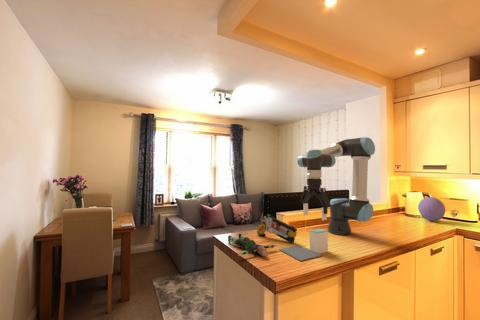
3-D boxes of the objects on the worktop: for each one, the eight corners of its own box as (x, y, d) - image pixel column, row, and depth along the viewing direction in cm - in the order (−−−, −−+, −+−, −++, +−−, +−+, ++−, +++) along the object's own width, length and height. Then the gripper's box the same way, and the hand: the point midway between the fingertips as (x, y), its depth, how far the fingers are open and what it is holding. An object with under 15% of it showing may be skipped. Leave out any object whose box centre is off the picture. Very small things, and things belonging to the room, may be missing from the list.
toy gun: (258, 231, 154) (263, 210, 152) (292, 250, 138) (298, 227, 136) (254, 232, 151) (259, 211, 149) (289, 252, 134) (295, 229, 132)
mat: (299, 246, 130) (299, 245, 130) (322, 256, 115) (322, 255, 115) (279, 250, 124) (279, 248, 124) (300, 261, 108) (300, 260, 108)
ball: (445, 225, 176) (444, 199, 177) (417, 221, 188) (416, 197, 188) (445, 221, 189) (445, 197, 189) (419, 218, 200) (419, 195, 201)
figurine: (215, 245, 131) (244, 266, 106) (215, 235, 131) (244, 253, 106) (251, 238, 145) (284, 255, 120) (251, 228, 145) (284, 243, 120)
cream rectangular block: (320, 248, 126) (320, 228, 126) (327, 251, 121) (327, 230, 122) (309, 251, 122) (309, 230, 123) (316, 254, 118) (316, 232, 118)
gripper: (293, 177, 133) (294, 213, 132) (326, 179, 111) (327, 223, 110) (303, 177, 136) (304, 212, 136) (337, 178, 114) (338, 221, 113)
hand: (314, 217), depth 123 cm, fingers open, 13 cm apart
